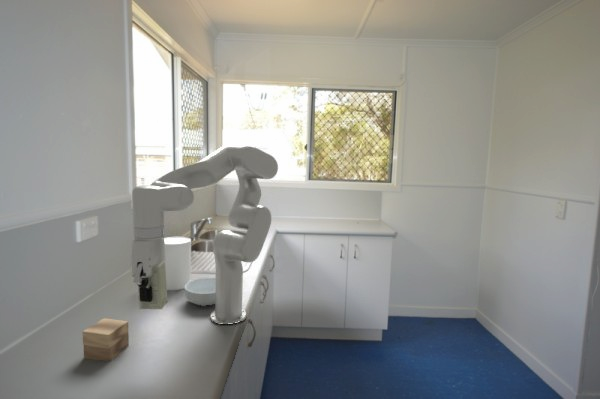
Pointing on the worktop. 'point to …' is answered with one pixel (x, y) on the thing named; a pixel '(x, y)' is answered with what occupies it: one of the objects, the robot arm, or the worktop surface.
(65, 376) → the worktop surface
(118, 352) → the walnut base block
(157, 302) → the skincare box
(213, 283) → the cereal bowl
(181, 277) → the canister
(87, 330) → the oak top block
